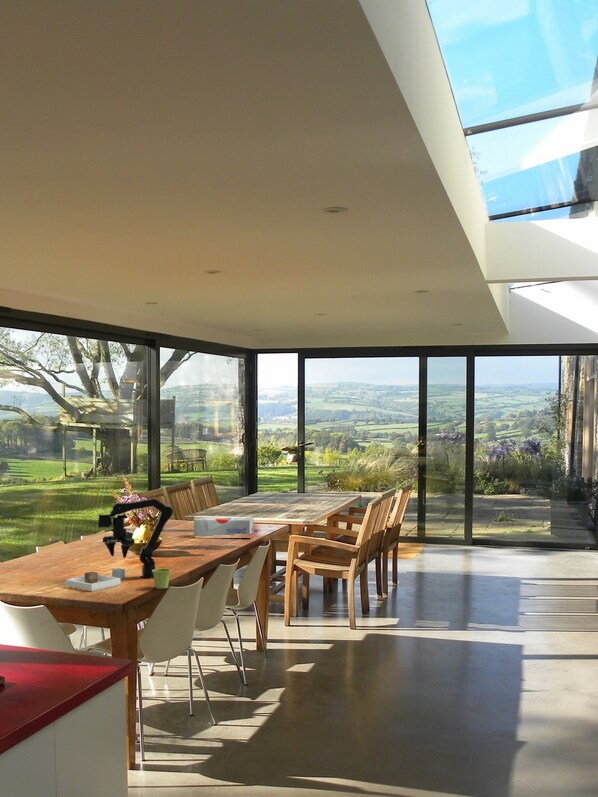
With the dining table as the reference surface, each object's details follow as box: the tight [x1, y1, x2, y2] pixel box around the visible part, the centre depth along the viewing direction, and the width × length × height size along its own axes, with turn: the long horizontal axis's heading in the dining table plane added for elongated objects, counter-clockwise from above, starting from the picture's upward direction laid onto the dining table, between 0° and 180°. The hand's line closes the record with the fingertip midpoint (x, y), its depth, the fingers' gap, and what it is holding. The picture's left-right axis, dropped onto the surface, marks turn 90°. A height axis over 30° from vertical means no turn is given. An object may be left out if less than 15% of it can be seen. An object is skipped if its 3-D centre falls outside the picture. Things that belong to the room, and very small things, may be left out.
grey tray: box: [64, 574, 121, 592], centre depth 389 cm, size 20×18×4 cm
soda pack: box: [193, 517, 255, 536], centre depth 546 cm, size 41×13×14 cm, turn 81°
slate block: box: [111, 567, 126, 581], centre depth 406 cm, size 4×4×5 cm
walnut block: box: [84, 571, 98, 584], centre depth 393 cm, size 4×4×5 cm
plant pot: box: [152, 568, 172, 590], centre depth 385 cm, size 9×9×9 cm
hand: (118, 556), depth 407 cm, fingers open, 9 cm apart
